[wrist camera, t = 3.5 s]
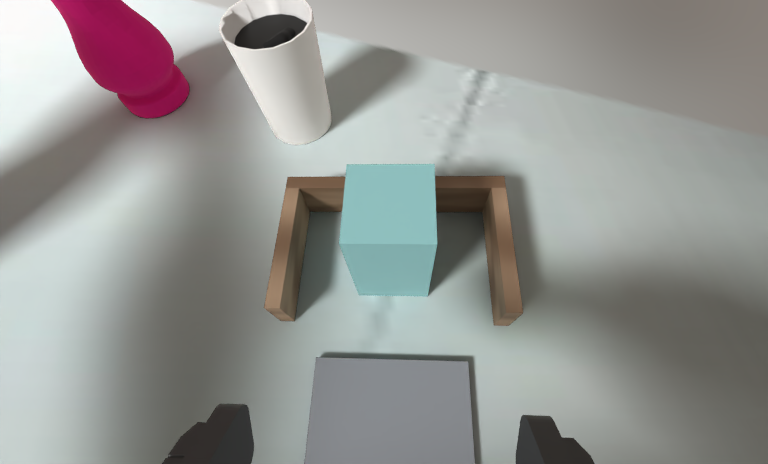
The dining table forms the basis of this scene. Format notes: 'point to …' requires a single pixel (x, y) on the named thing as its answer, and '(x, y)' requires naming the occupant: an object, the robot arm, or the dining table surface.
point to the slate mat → (390, 412)
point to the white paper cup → (280, 65)
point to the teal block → (389, 228)
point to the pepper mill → (125, 55)
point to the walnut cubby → (450, 197)
